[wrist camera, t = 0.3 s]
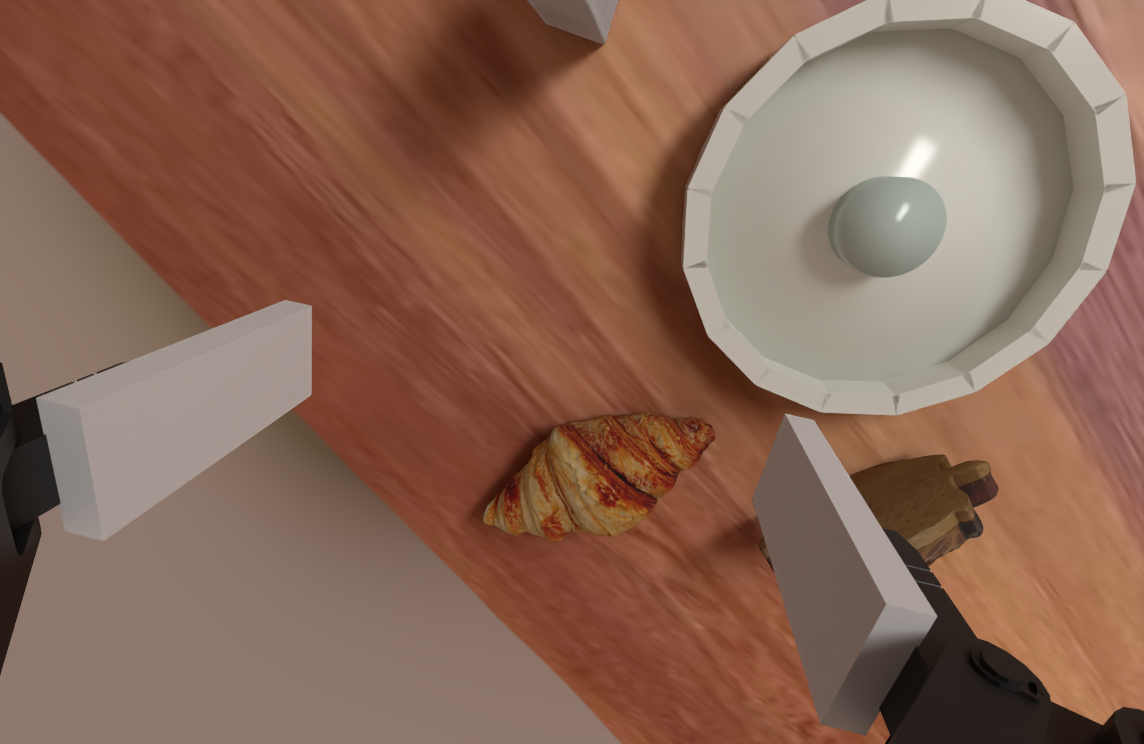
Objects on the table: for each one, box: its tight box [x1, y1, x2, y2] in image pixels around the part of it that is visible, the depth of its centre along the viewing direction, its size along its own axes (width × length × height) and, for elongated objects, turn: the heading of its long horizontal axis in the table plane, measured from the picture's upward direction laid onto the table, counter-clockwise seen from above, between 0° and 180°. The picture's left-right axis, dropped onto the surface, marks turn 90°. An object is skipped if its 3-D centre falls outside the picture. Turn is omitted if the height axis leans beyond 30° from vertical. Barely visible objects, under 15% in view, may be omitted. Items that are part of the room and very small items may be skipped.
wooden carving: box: [759, 455, 998, 572], centre depth 39 cm, size 16×5×10 cm, turn 127°
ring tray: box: [681, 0, 1136, 415], centre depth 35 cm, size 25×25×4 cm
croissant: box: [483, 413, 715, 541], centre depth 44 cm, size 21×10×8 cm, turn 121°
